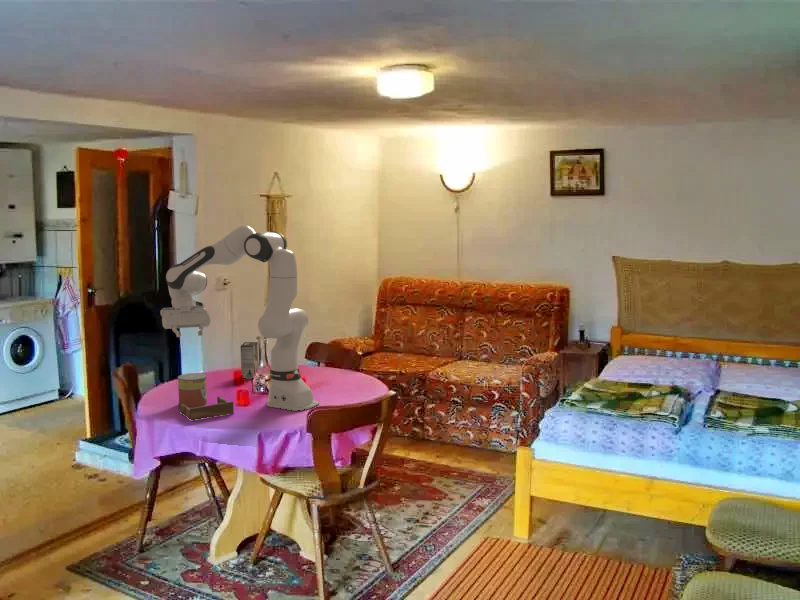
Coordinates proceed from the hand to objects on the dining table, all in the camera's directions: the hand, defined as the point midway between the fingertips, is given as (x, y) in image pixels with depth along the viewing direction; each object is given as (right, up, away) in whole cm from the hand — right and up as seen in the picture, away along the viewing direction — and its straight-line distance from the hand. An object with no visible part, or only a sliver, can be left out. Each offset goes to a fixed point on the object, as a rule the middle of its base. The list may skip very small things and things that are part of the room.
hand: (190, 335), depth 321 cm
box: (+12, -30, -19) cm, 37 cm away
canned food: (+3, -28, -7) cm, 29 cm away
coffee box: (+17, -22, +40) cm, 49 cm away
